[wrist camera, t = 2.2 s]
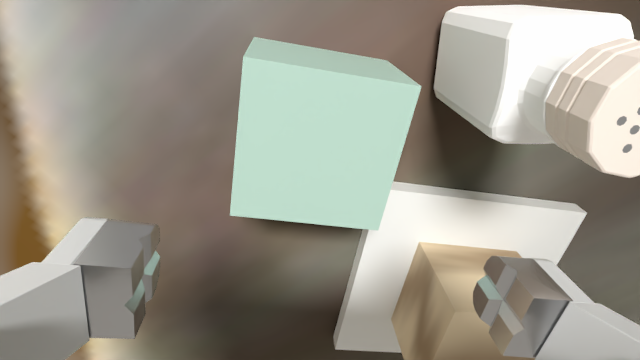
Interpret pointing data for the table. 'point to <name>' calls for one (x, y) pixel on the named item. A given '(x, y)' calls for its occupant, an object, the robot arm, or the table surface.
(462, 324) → the maple brick
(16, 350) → the robot arm
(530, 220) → the plate
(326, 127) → the sage brick
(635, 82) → the pepper shaker
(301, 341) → the table surface
